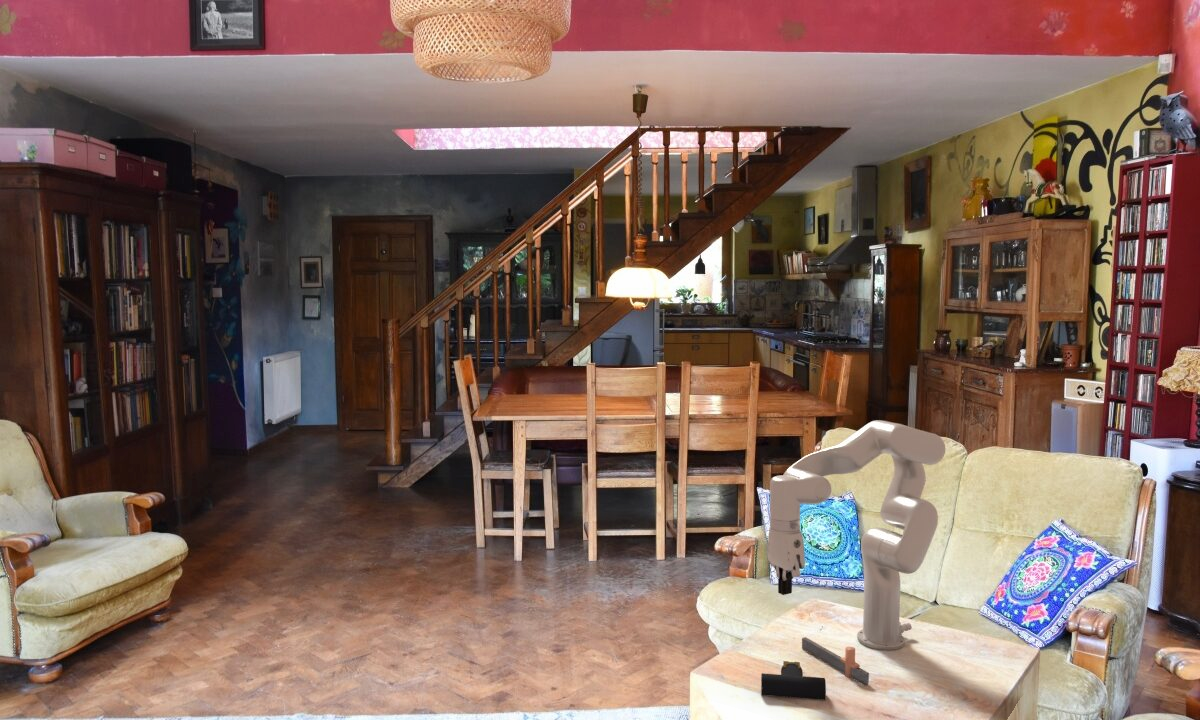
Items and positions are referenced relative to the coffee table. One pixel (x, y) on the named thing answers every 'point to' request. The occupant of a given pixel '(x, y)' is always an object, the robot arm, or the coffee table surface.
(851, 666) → the guide rail
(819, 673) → the coffee table surface
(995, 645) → the coffee table surface
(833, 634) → the coffee table surface
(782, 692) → the pipe connector
